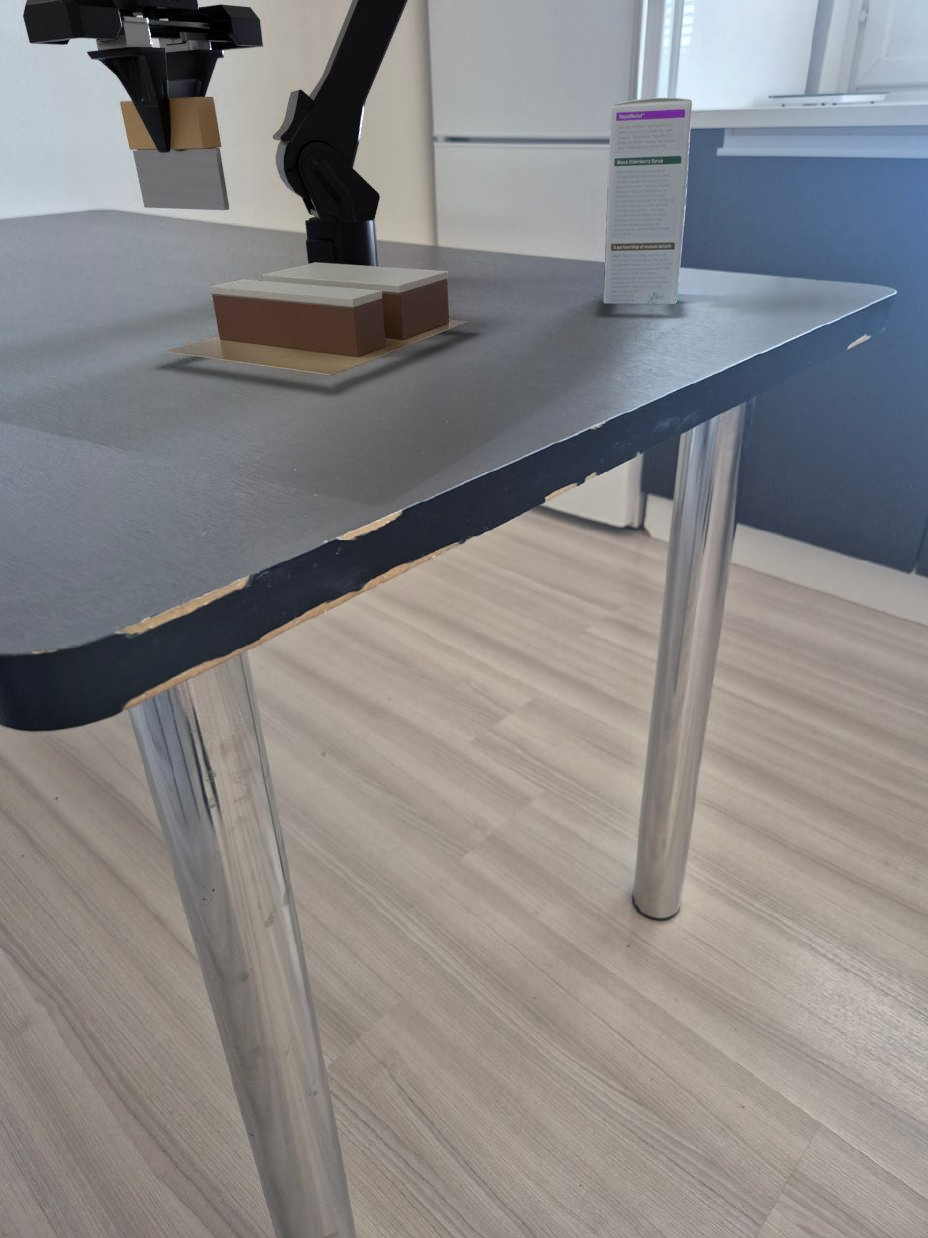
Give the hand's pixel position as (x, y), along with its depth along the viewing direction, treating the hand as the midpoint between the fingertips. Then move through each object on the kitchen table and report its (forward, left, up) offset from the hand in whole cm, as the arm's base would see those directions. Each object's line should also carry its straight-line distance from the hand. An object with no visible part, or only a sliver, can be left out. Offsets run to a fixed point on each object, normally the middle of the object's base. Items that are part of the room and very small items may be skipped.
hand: (175, 151), depth 70 cm
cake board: (+10, +22, -12) cm, 27 cm away
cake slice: (+12, +22, -11) cm, 27 cm away
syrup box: (-12, +37, -12) cm, 41 cm away
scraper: (0, 0, -4) cm, 4 cm away
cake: (+6, +22, -11) cm, 25 cm away
